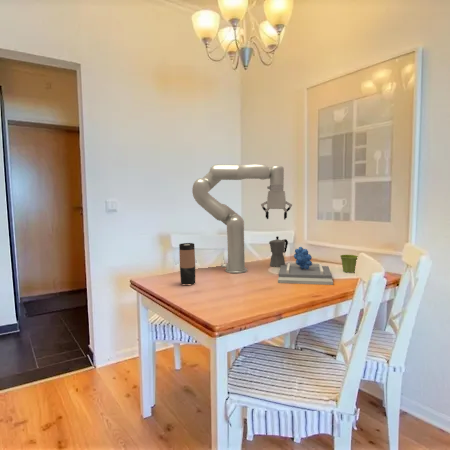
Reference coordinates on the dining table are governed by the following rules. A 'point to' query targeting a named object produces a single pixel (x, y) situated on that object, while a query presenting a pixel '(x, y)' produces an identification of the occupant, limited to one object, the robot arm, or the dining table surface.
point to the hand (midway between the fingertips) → (276, 219)
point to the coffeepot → (278, 252)
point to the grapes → (303, 258)
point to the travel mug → (187, 263)
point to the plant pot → (348, 262)
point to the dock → (305, 274)
